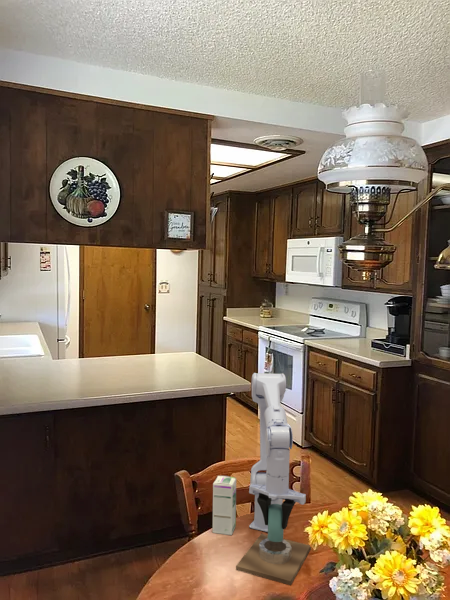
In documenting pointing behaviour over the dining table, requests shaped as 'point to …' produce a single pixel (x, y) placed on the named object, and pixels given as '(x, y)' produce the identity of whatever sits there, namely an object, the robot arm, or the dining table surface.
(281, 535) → the peg
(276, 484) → the robot arm
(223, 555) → the dining table surface
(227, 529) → the syrup box
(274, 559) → the socket ring
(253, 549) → the walnut board
